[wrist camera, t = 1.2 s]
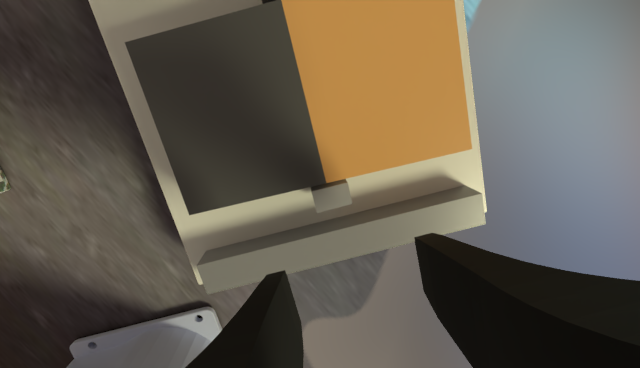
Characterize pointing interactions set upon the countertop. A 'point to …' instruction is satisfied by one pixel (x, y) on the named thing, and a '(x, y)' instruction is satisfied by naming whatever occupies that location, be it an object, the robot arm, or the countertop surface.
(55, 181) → the countertop surface
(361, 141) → the breaker rocker
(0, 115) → the countertop surface
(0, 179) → the syrup box
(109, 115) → the countertop surface
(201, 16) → the switch housing
